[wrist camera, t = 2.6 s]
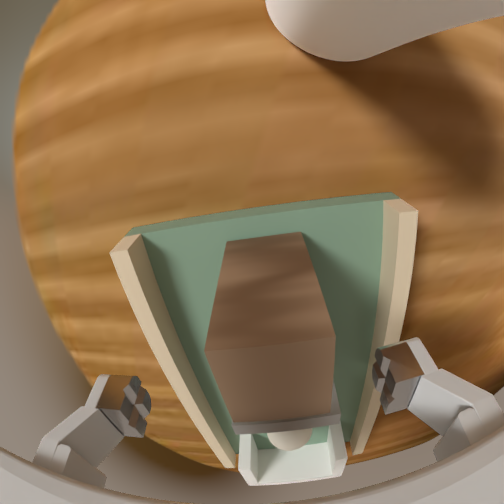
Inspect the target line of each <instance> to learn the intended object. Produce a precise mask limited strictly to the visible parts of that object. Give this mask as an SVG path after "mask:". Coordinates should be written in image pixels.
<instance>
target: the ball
mask: <svg viewBox="0 0 504 504" xmlns="http://www.w3.org/2000/svg"><path fill="white" fill-rule="evenodd" d="M267 435H268V438H269V440H270V442H271V443H272V444H273V445H274V446H275V447H277V448H279V449H281V450H286V451H292V450H296V449H299V448H301V447H303V446H304V445H305V444H306V443H307V442H308V441H309V439H310V437H311V435H312V428H309V429H301V430H293V431H284V432H273V433H267Z"/></svg>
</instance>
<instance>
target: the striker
mask: <svg viewBox="0 0 504 504" xmlns="http://www.w3.org/2000/svg"><path fill="white" fill-rule="evenodd" d="M335 341H336V336H335V332H334V329H333V326H332V323H331V319H330V316H329V313H328V310H327V307H326V304H325V301H324V297H323V294H322V291H321V288H320V285H319V282H318V279H317V276H316V273H315V270H314V267H313V264H312V262H311V259H310V256H309V253H308V250H307V247H306V244H305V242H304V239H303V236H302V233H301V232H293V233H285V234H278V235H270V236H263V237H256V238H248V239H241V240H234V241H227V242H226V246H225V251H224V256H223V260H222V265H221V270H220V274H219V279H218V284H217V289H216V293H215V298H214V303H213V308H212V313H211V318H210V323H209V328H208V333H207V338H206V343H205V348H204V352H205V355H206V358H207V360H208V363H209V365H210V368H211V370H212V373H213V375H214V378H215V380H216V383H217V385H218V388H219V390H220V392H221V395H222V397H223V400H224V402H225V404H226V407H227V409H228V411H229V414H230V416H231V418H232V428H233V430H234V432H235V434H236V435H240V434H260V433H273V432H284V431H293V430H301V429H309V428H316V427H322V426H328V425H334V424H339V423H340V417H341V411H340V406H339V402H338V397H337V393H336V389H335V384H334V380H333V375H334V360H335Z"/></svg>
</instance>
